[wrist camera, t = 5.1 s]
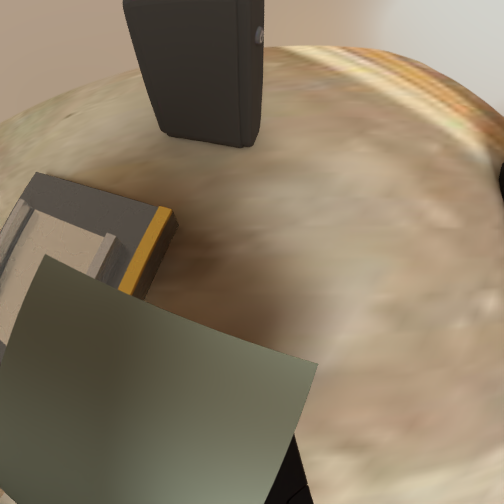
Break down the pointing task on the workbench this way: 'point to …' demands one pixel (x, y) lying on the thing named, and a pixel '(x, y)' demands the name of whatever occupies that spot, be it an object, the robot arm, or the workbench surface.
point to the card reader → (201, 66)
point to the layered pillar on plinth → (138, 402)
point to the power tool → (502, 179)
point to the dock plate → (79, 240)
